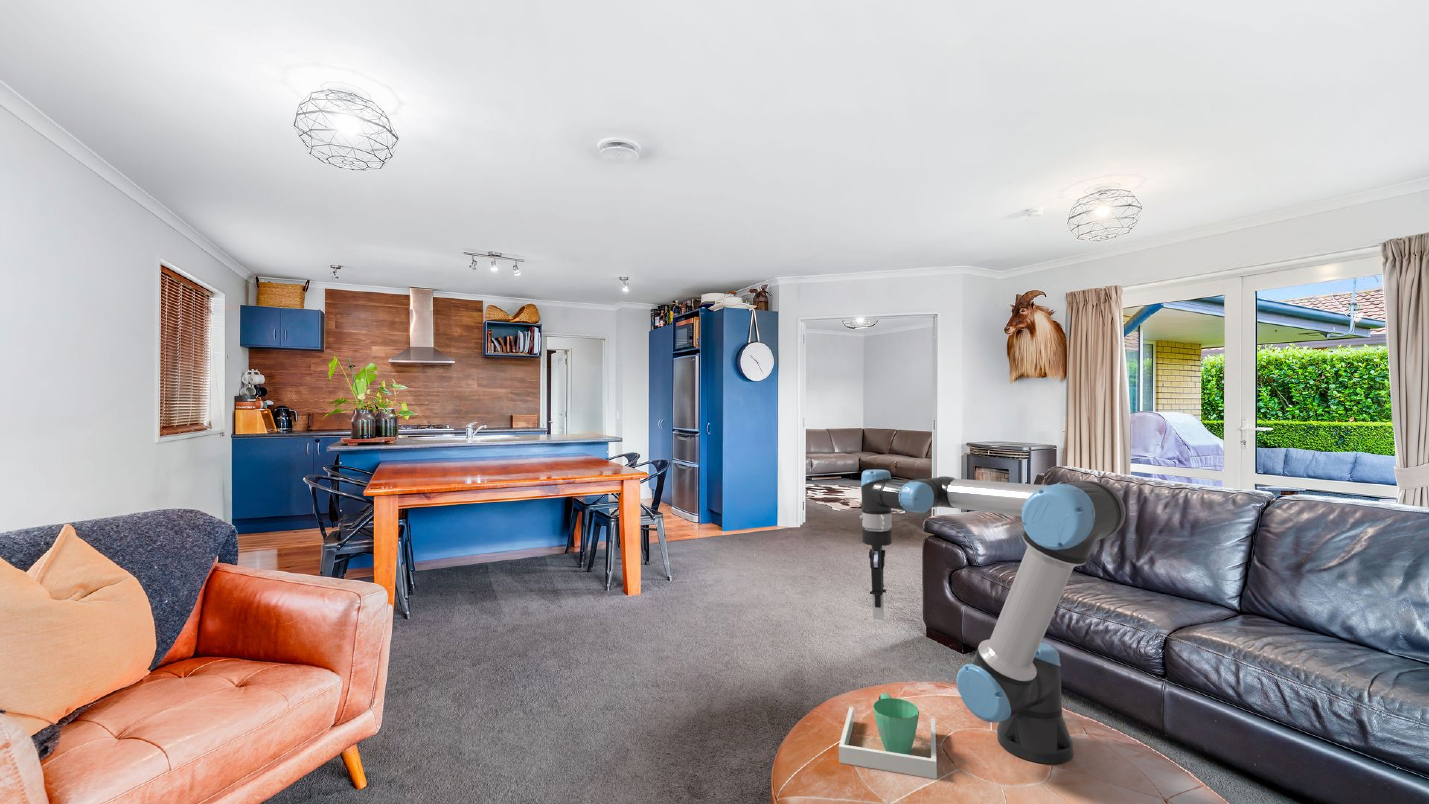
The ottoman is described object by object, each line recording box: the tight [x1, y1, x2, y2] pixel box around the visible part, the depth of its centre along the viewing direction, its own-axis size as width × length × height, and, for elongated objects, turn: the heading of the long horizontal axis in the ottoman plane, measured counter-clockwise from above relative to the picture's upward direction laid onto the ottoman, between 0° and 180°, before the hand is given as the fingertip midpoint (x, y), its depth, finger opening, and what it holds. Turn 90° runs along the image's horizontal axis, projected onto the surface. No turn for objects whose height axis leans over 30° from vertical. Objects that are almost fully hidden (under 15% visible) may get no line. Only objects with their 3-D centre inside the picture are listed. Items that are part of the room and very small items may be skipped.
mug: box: [872, 692, 920, 755], centre depth 135 cm, size 15×10×10 cm
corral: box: [838, 706, 938, 780], centre depth 135 cm, size 20×19×4 cm
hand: (878, 618), depth 156 cm, fingers closed
